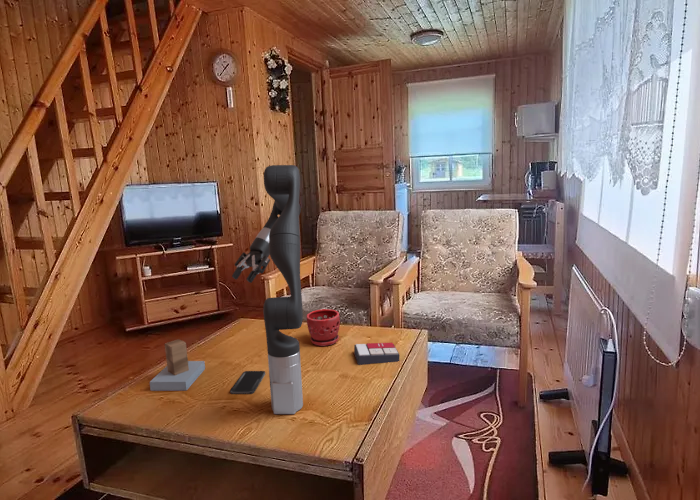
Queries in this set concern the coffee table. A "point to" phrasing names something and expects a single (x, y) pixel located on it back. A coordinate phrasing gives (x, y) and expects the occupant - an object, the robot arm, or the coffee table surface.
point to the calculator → (375, 353)
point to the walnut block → (176, 357)
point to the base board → (177, 378)
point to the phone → (247, 382)
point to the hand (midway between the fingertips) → (241, 279)
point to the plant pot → (323, 327)
